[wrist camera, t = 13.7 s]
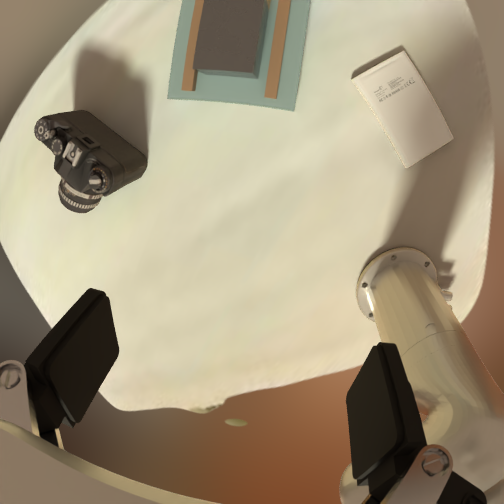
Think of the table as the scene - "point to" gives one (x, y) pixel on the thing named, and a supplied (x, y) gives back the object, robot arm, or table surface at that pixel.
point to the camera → (88, 158)
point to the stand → (271, 68)
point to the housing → (231, 37)
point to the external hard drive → (404, 108)
